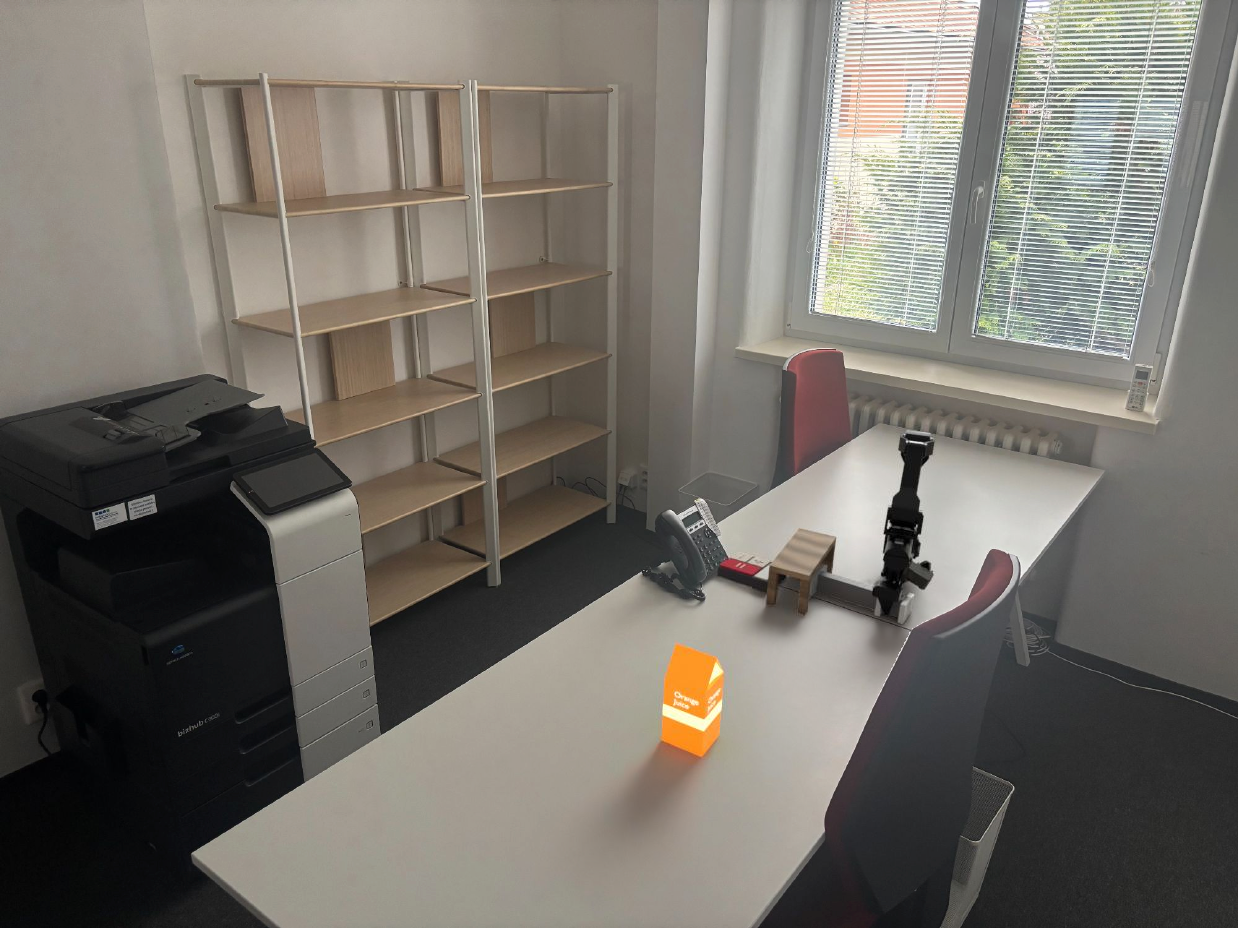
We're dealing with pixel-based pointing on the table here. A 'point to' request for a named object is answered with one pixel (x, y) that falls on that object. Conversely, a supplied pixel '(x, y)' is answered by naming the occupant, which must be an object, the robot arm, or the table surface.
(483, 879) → the table surface
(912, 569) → the robot arm
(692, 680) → the orange juice
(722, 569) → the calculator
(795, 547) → the wooden stool
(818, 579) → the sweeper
